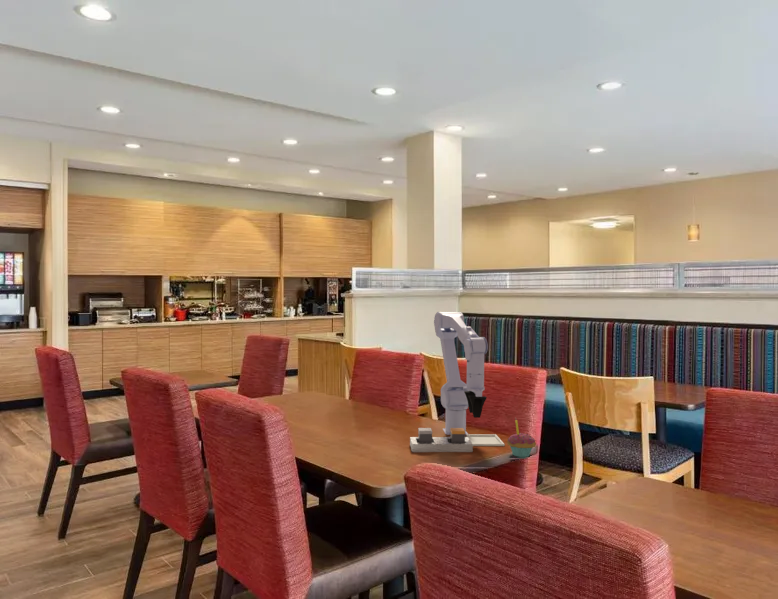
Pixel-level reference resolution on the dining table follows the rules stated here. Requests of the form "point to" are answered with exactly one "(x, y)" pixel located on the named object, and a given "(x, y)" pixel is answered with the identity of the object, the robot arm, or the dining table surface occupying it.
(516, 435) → the cupcake
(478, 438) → the tray
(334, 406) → the dining table surface
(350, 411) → the dining table surface
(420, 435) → the twin plug
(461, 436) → the plug
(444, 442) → the pdu strip
